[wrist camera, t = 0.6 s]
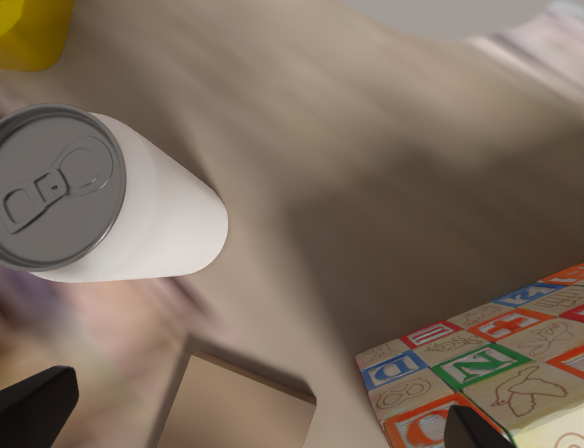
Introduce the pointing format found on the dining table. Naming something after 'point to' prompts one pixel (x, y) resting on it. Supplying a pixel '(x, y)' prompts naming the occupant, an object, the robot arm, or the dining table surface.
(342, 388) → the dining table surface
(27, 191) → the can
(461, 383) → the stack of blocks
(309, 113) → the dining table surface
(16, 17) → the element tile
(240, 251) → the dining table surface
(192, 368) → the tan flat board
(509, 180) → the dining table surface
